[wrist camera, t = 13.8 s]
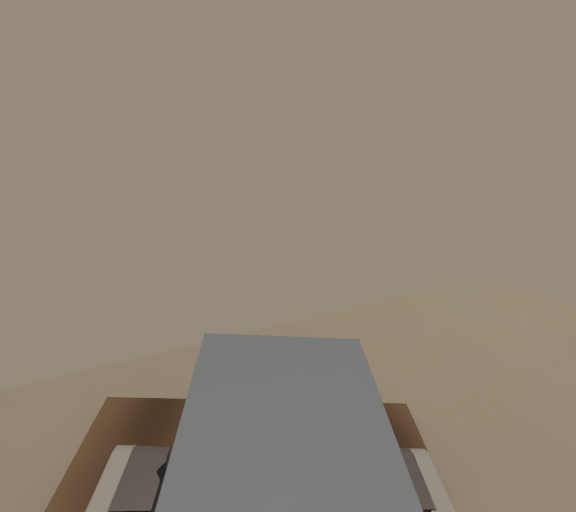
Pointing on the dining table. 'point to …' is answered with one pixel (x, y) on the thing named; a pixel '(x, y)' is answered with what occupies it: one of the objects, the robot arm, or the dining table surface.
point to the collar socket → (157, 441)
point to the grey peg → (284, 432)
